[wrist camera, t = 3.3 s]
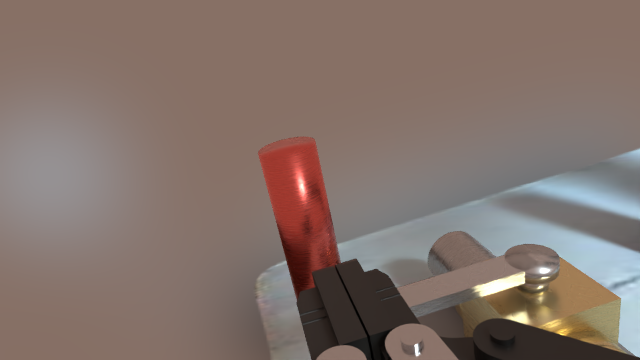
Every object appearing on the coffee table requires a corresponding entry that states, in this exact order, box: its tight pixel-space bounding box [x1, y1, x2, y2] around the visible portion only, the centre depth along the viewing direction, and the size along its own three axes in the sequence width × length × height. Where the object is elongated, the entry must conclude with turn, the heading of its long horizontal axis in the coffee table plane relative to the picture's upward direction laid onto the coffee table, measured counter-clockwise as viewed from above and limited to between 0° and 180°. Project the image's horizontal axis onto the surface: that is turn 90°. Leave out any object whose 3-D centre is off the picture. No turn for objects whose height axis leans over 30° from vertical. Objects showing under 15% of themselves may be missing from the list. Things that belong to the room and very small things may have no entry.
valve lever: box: [258, 137, 560, 318], centre depth 22 cm, size 15×3×11 cm, turn 102°
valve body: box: [428, 231, 627, 354], centre depth 26 cm, size 20×6×7 cm, turn 12°
